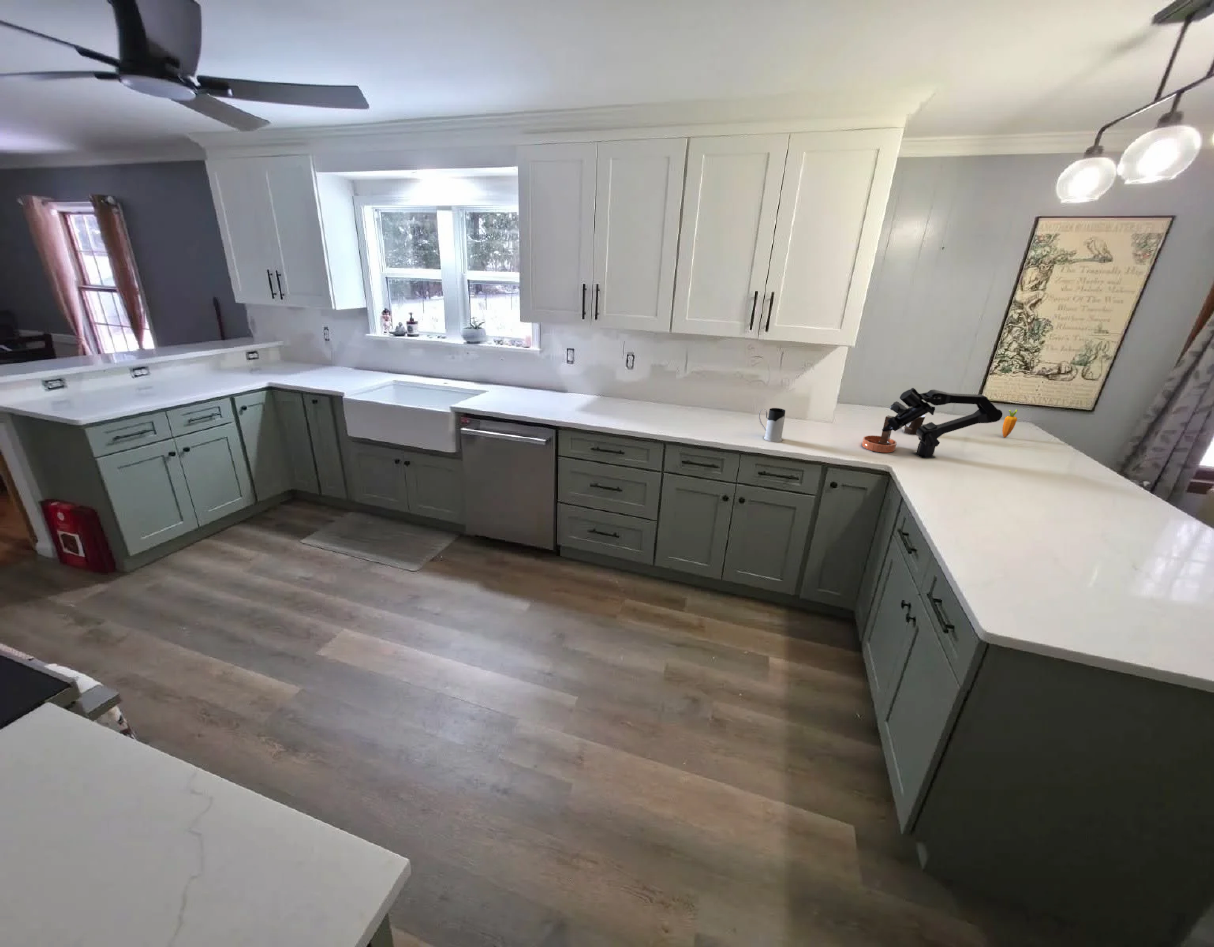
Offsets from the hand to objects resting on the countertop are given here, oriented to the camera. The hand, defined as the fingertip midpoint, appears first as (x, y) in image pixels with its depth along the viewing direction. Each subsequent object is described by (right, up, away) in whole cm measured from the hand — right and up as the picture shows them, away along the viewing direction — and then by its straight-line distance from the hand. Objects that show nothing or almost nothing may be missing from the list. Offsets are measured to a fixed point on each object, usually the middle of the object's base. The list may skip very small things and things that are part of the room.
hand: (883, 429), depth 235 cm
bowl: (-2, -9, +2) cm, 9 cm away
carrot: (+73, -3, +19) cm, 75 cm away
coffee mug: (+28, +1, +25) cm, 38 cm away
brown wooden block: (+1, -7, +2) cm, 7 cm away
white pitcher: (-50, -3, +15) cm, 52 cm away
